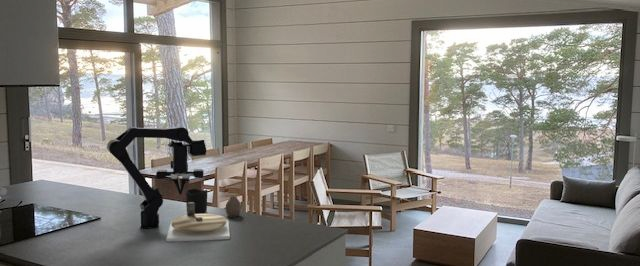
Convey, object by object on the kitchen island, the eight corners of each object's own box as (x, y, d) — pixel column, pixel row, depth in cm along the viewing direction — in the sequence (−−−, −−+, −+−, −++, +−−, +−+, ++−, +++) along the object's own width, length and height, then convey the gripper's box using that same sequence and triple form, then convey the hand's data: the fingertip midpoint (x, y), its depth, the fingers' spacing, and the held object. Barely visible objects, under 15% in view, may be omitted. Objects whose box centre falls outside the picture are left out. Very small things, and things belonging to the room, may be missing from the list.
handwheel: (235, 230, 202) (235, 210, 201) (182, 238, 191) (181, 217, 190) (213, 217, 220) (213, 199, 219) (164, 224, 209) (164, 205, 208)
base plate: (166, 241, 192) (166, 238, 192) (171, 224, 214) (171, 221, 214) (229, 239, 196) (229, 235, 196) (228, 222, 219) (228, 219, 219)
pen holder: (203, 209, 241) (203, 187, 240) (210, 213, 233) (210, 191, 232) (183, 211, 236) (183, 189, 235) (190, 216, 228) (189, 193, 227)
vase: (238, 218, 226) (238, 198, 225) (223, 217, 227) (223, 197, 226) (243, 214, 232) (243, 195, 231) (229, 213, 234) (229, 194, 233)
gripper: (203, 154, 224) (204, 189, 226) (158, 154, 221) (159, 190, 222) (203, 157, 213) (203, 195, 215) (155, 158, 210) (156, 196, 211)
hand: (180, 194), depth 216 cm, fingers closed
